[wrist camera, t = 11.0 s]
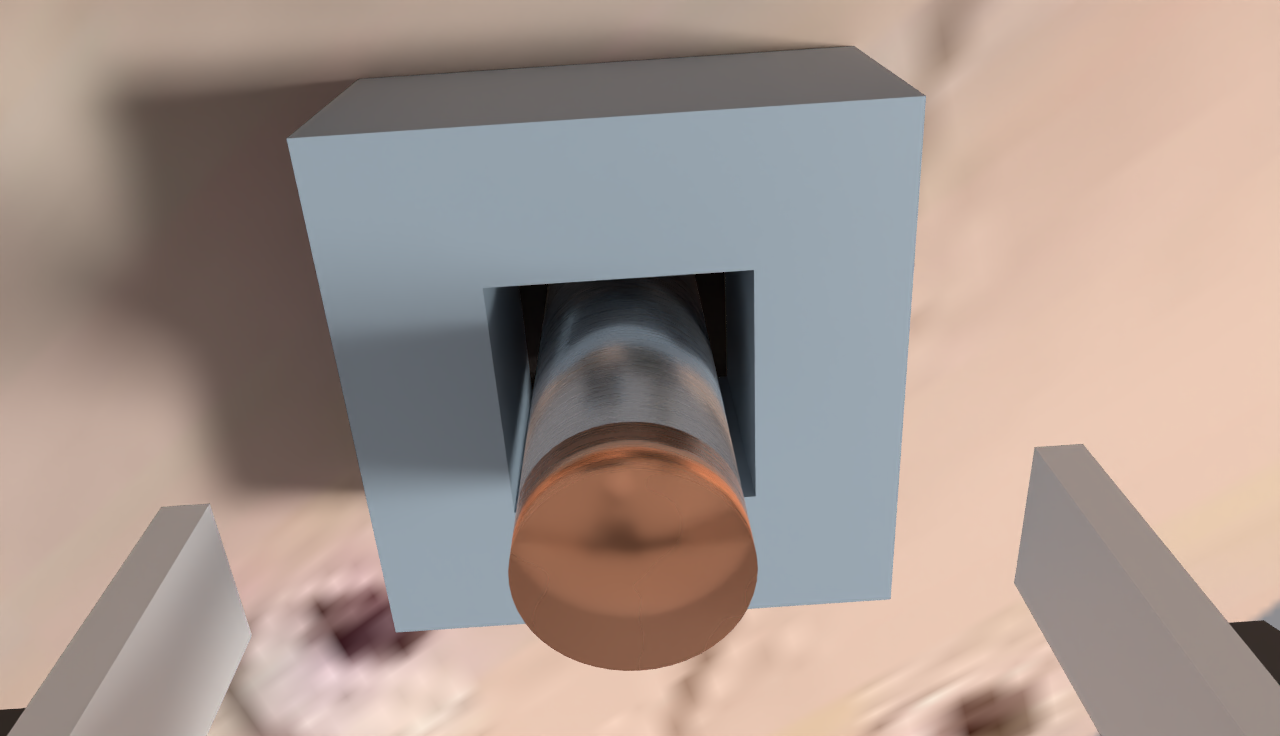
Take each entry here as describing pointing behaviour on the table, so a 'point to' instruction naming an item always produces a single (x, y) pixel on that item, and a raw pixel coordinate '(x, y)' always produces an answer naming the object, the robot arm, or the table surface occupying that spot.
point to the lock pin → (629, 481)
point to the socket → (618, 249)
